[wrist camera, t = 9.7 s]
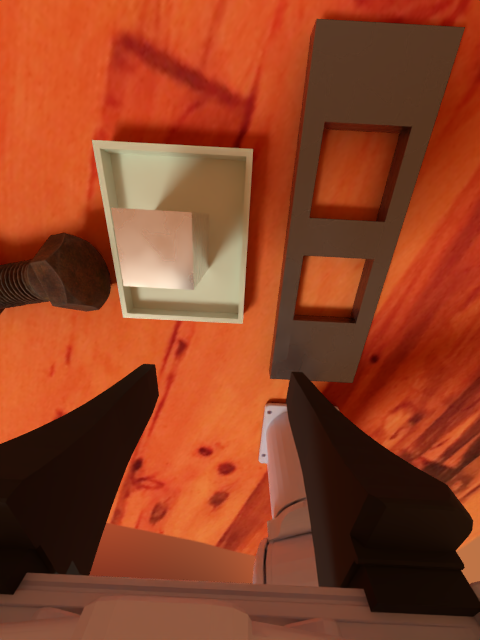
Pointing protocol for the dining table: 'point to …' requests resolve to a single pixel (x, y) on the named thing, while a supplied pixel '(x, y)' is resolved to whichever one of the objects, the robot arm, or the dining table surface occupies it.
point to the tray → (183, 196)
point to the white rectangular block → (161, 247)
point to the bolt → (57, 276)
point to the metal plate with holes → (381, 236)
